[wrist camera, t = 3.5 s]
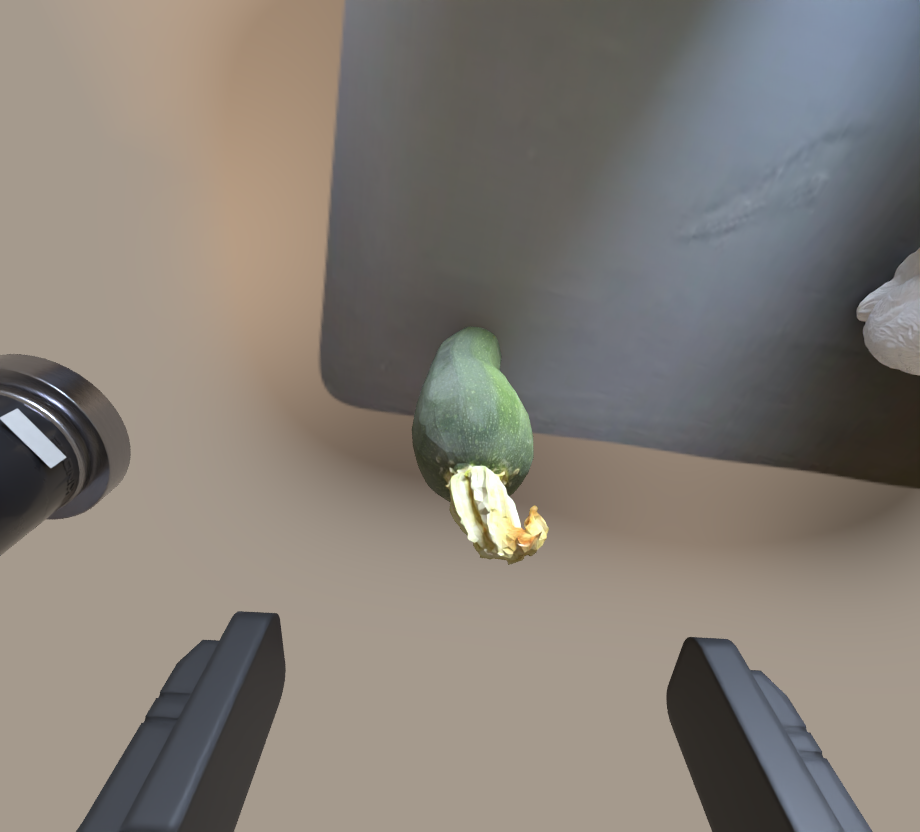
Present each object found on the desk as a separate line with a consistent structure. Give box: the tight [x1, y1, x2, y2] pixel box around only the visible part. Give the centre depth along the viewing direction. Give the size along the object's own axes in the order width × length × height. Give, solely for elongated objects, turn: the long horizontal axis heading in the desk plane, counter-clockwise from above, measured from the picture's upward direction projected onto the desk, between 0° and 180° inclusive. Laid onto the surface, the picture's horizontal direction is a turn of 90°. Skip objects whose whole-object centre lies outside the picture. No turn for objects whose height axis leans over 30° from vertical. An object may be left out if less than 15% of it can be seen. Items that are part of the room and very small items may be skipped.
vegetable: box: [412, 327, 549, 565], centre depth 21 cm, size 4×4×20 cm
